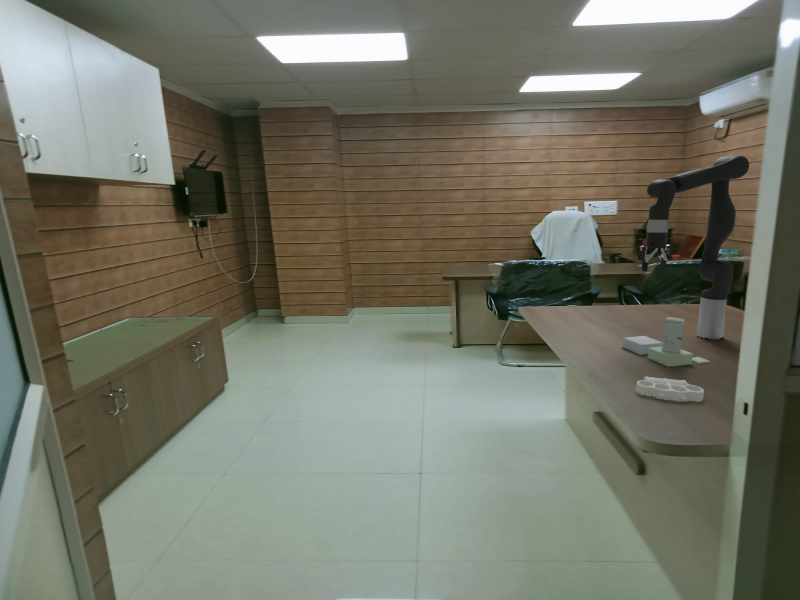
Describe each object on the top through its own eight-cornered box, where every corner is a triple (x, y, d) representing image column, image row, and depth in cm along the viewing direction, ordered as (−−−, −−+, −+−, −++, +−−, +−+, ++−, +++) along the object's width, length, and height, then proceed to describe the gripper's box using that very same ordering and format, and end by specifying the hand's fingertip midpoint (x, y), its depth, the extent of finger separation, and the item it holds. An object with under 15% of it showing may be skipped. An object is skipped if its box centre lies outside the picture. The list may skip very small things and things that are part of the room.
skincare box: (661, 351, 170) (665, 319, 167) (662, 347, 174) (665, 316, 171) (681, 353, 167) (684, 321, 164) (681, 350, 171) (684, 318, 168)
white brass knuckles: (695, 388, 147) (707, 407, 133) (632, 382, 153) (638, 400, 139) (696, 378, 146) (709, 397, 133) (633, 372, 152) (639, 389, 139)
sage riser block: (670, 355, 177) (671, 345, 176) (691, 364, 167) (693, 353, 167) (647, 358, 175) (648, 347, 174) (668, 366, 165) (669, 356, 164)
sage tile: (698, 358, 173) (698, 356, 173) (710, 362, 169) (710, 361, 168) (687, 359, 172) (687, 358, 172) (698, 364, 167) (698, 362, 167)
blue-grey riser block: (643, 345, 190) (644, 335, 189) (662, 352, 181) (663, 342, 180) (622, 347, 188) (623, 337, 187) (640, 354, 178) (641, 344, 178)
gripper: (664, 230, 191) (661, 268, 194) (635, 231, 188) (631, 270, 191) (679, 231, 184) (675, 271, 187) (649, 232, 180) (645, 273, 184)
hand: (653, 270), depth 189 cm, fingers open, 8 cm apart
